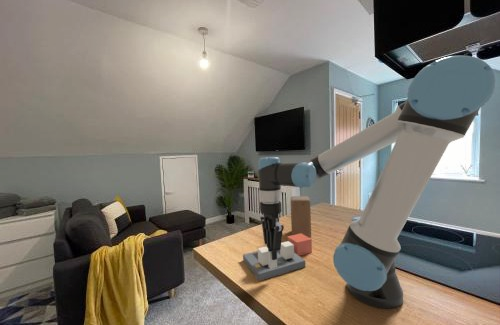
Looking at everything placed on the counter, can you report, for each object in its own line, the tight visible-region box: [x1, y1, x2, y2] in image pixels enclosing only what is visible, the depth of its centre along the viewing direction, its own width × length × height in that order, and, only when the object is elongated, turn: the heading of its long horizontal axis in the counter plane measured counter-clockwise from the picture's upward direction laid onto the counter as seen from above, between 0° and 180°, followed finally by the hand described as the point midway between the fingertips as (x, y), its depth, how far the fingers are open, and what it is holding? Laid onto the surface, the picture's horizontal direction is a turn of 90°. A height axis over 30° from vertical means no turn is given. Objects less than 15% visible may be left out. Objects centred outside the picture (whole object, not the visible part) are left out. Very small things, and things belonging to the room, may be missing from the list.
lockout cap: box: [286, 233, 313, 257], centre depth 94 cm, size 8×8×6 cm
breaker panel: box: [242, 250, 306, 282], centre depth 84 cm, size 16×20×3 cm
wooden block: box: [290, 195, 312, 238], centre depth 112 cm, size 10×10×20 cm
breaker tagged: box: [257, 245, 268, 266], centre depth 80 cm, size 4×4×5 cm
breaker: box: [280, 240, 294, 259], centre depth 83 cm, size 4×4×5 cm
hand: (272, 266), depth 74 cm, fingers closed
